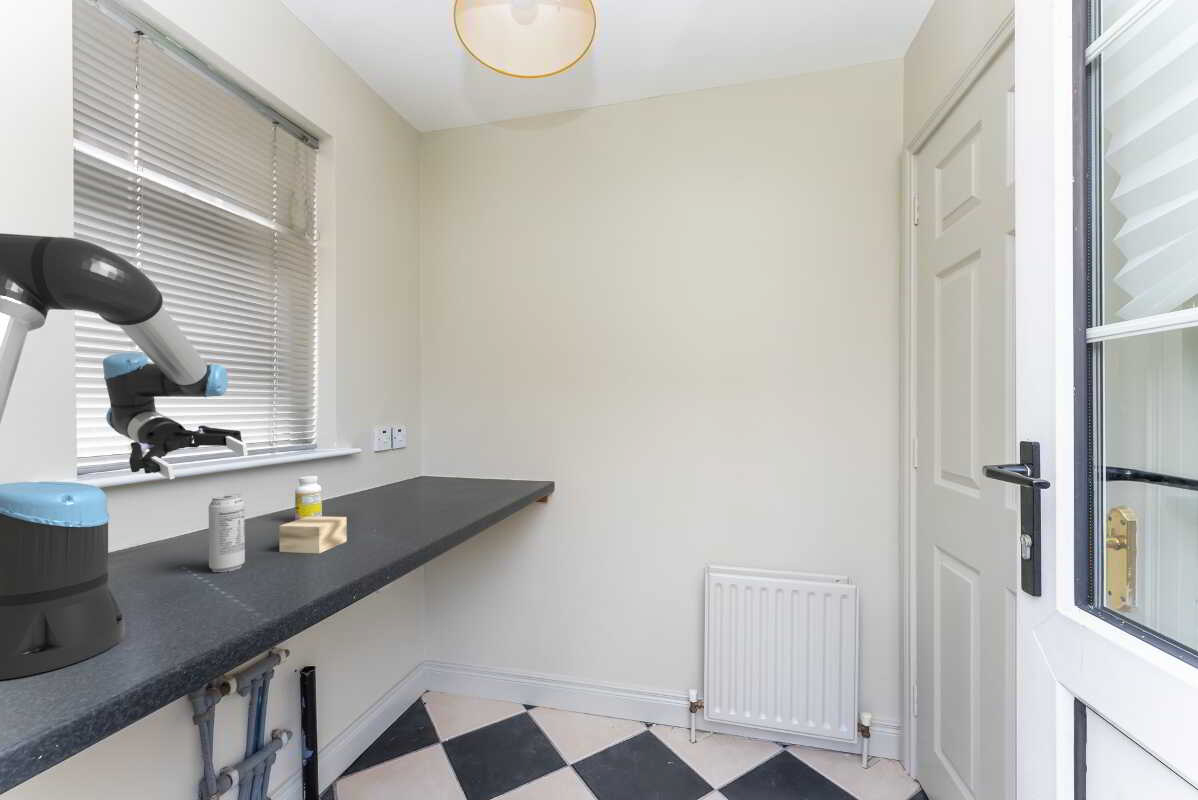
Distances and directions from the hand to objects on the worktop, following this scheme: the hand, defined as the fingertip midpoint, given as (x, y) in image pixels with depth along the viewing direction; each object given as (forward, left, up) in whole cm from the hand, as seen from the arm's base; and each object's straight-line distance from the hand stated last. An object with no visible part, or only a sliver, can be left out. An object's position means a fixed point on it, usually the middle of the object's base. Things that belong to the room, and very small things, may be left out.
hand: (210, 460), depth 107 cm
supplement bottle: (+41, +9, -23) cm, 48 cm away
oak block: (+18, -10, -22) cm, 30 cm away
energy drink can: (+1, -3, -23) cm, 23 cm away
